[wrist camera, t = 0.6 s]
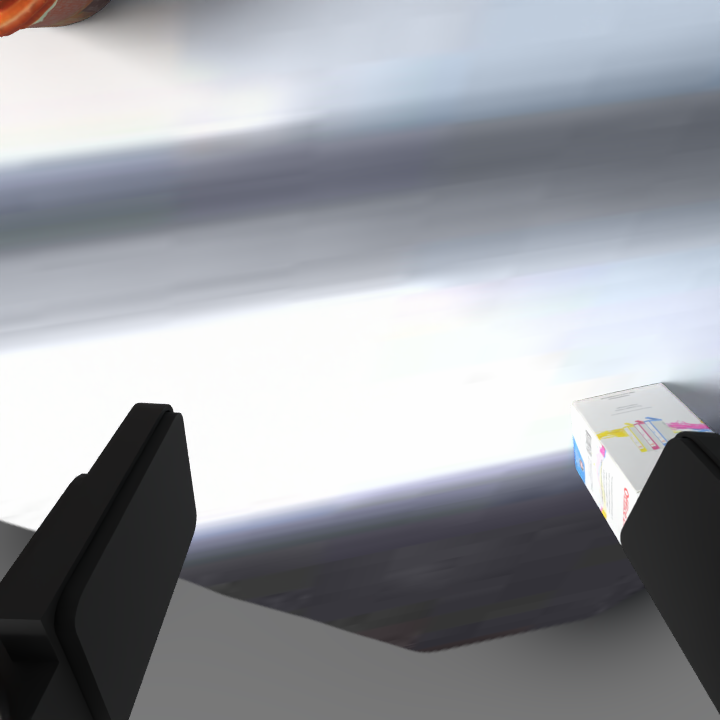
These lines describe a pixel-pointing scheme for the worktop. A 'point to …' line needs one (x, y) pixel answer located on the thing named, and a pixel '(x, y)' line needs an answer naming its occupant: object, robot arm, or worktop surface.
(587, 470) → the ink box
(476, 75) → the worktop surface
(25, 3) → the food container
